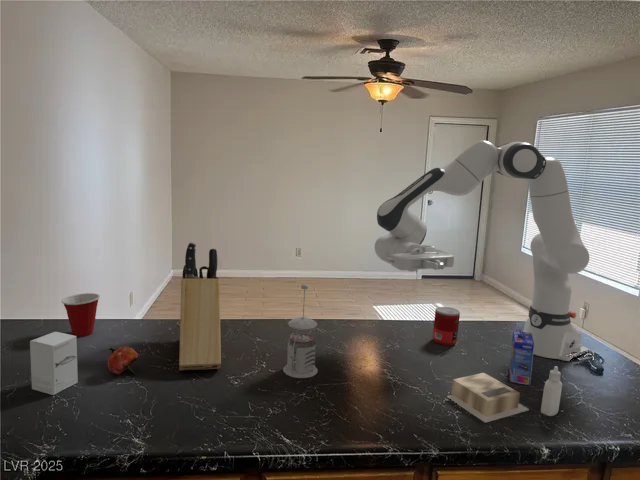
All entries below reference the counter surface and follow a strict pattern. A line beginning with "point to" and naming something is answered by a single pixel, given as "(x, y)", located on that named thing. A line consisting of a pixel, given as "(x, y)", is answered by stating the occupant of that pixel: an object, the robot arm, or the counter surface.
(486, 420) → the mat
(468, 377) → the block
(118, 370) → the red rounded lump
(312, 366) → the french press
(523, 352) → the ink cartridge box
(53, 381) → the supplement box
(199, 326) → the knife block
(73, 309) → the plastic cup
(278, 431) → the counter surface
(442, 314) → the canned food
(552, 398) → the eye dropper bottle
